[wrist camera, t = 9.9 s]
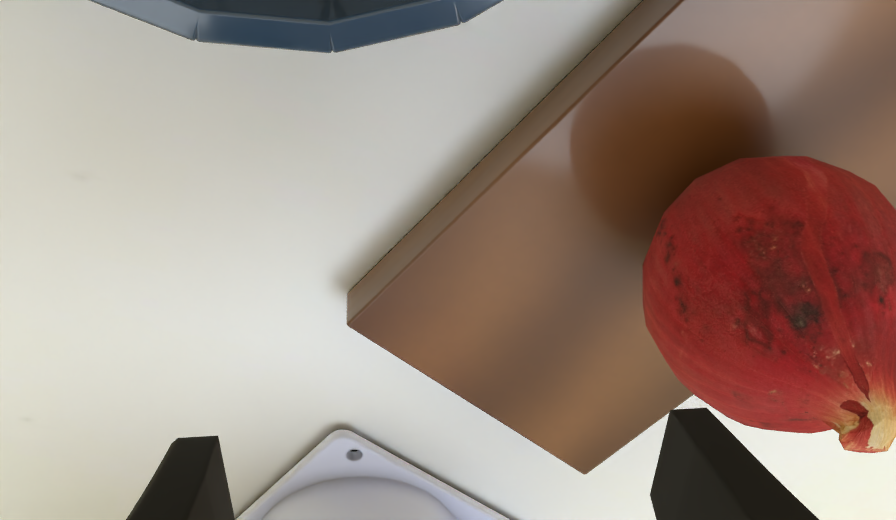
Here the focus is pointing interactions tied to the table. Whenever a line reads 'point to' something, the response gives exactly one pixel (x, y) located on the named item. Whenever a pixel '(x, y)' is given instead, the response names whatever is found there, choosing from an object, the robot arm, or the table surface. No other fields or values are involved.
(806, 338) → the onion
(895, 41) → the board
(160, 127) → the table surface
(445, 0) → the bowl
